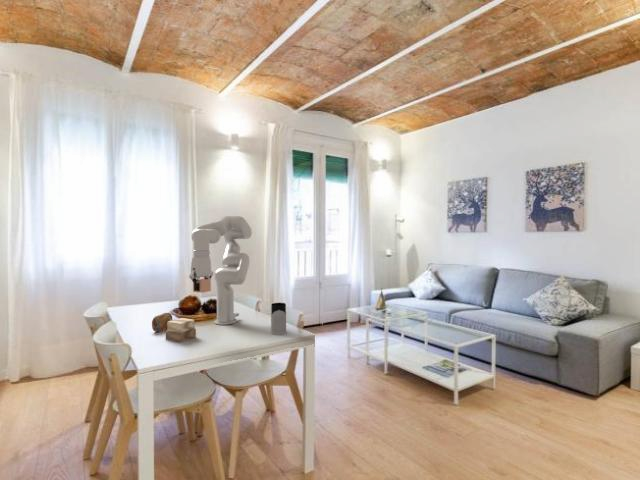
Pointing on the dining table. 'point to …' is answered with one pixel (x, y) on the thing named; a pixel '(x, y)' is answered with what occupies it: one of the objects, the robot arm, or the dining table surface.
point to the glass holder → (278, 319)
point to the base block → (180, 335)
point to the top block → (181, 325)
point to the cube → (204, 285)
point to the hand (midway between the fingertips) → (201, 289)
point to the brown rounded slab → (161, 322)
